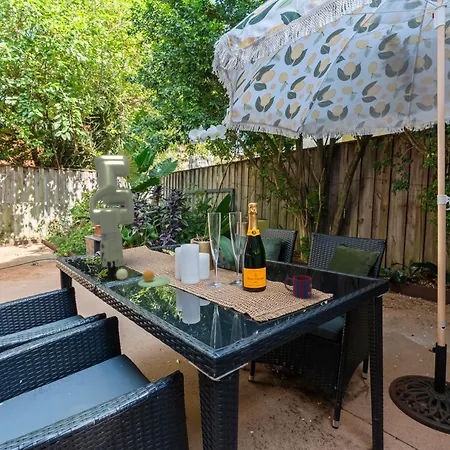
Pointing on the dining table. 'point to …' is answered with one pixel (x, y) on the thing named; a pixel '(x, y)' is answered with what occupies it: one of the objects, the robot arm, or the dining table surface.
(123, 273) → the ivory ball
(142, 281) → the mint mark
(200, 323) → the dining table surface
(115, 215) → the robot arm
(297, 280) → the mug
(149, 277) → the orange ball
